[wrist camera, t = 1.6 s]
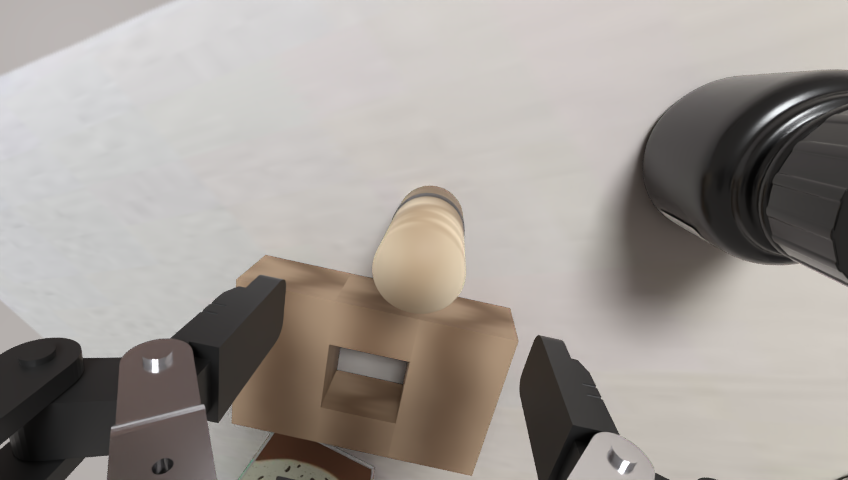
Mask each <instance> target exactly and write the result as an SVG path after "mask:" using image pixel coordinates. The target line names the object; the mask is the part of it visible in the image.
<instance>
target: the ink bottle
mask: <svg viewBox="0 0 848 480" xmlns="http://www.w3.org/2000/svg"><path fill="white" fill-rule="evenodd" d="M643 177H644V183H645V187H646V190H647V193H648V195H649V197H650V199H651V201H652V202H653V204H654V205H655V207H656V208H657V209H658V210H659V211H660V212H661V213H662V214H663V215H664V216H665V217H667V218H668V219H669V220H671V221H673V222H674V223H676V224H677V225H679V226H681V227H682V228H684V229H686V230H687V231H689V232H691V233H693V234H694V235H696V236H698V237H699V238H701V239H703V240H705V241H706V242H708V243H710V244H711V245H713V246H715V247H717V248H719V249H721V250H722V251H724V252H726V253H728V254H730V255H732V256H734V257H736V258H739V259H742V260H745V261H748V262H752V263H757V264H765V265H791V264H799V263H800V264H802V265H804V266H806V267H808V268H810V269H812V270H814V271H816V272H818V273H820V274H822V275H824V276H826V277H828V278H830V279H832V280H834V281H836V282H838V283H840V284H842V285H844V286H847V287H848V70H815V71H800V72H786V73H771V74H757V75H743V76H734V77H728V78H724V79H720V80H716V81H713V82H711V83H708V84H706V85H703V86H701V87H699V88H697V89H695V90H694V91H692V92H690V93H689V94H687V95H686V96H684V97H683V98H681V99H680V100H679V101H677V102H676V103H675V104H674V105H673V106H672V107H670V108H669V109H668V110H667V111H666V112H665V114H664V115H663V116H662V117H661V118H660V120H659V121H658V122H657V124H656V125H655V127H654V129H653V130H652V132H651V134H650V137H649V139H648V142H647V145H646V148H645V153H644V159H643Z"/></svg>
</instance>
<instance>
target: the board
mask: <svg viewBox="0 0 848 480" xmlns="http://www.w3.org/2000/svg"><path fill="white" fill-rule="evenodd" d="M259 275H266V276H270V277H275V278H279V279H284V280H285V281H286V295H285V307H284V318H283V326H282V330H281V333H280V335H279V338H278V340H277V341H276V343H275V344H274V346H273V347H272V348H271V350H270V351H269V353H268V354H267V355H266V357H265V358H264V360H263V361H262V362H261V364H260V365H259V367H258V368H257V369H256V371H255V372H254V374H253V375H252V376H251V378H250V379H249V381H248V382H247V383H246V385H245V386H244V388H243V389H242V390H241V392H240V393H239V395H238V396H237V397H236V399H235V400H234V402H233V403H232V424H237V425H242V426H246V427H251V428H255V429H260V430H264V431H269V432H274V433H278V434H283V435H287V436H292V437H296V438H301V439H306V440H310V441H315V442H319V443H324V444H328V445H333V446H338V447H342V448H347V449H351V450H356V451H360V452H365V453H370V454H374V455H379V456H383V457H388V458H393V459H397V460H402V461H406V462H411V463H415V464H420V465H425V466H429V467H434V468H438V469H443V470H447V471H452V472H457V473H461V474H466V475H470V476H472V474H473V471H474V468H475V465H476V462H477V460H478V457H479V454H480V451H481V448H482V445H483V442H484V439H485V436H486V433H487V431H488V428H489V425H490V422H491V419H492V416H493V413H494V410H495V407H496V405H497V402H498V399H499V396H500V393H501V390H502V387H503V384H504V381H505V379H506V376H507V373H508V370H509V367H510V364H511V361H512V358H513V355H514V352H515V350H516V347H517V344H518V337H517V333H516V329H515V326H514V322H513V318H512V314H511V310H510V308H506V307H502V306H497V305H492V304H488V303H483V302H479V301H474V300H470V299H465V298H460V297H457V298H456V299H455V300H454V301H453V302H452V303H451V304H450V305H448V306H447V307H445V308H443V309H441V310H439V311H436V312H432V313H426V314H415V313H409V312H406V311H403V310H400V309H398V308H396V307H394V306H393V305H391V304H390V303H389V302H388V301H387V300H385V299H384V297H383V296H382V295H381V294H380V292H379V291H378V289H377V287H376V285H375V282H374V279H373V278H369V277H364V276H359V275H355V274H350V273H346V272H341V271H336V270H332V269H327V268H323V267H318V266H313V265H309V264H304V263H300V262H295V261H291V260H286V259H281V258H277V257H272V256H268V255H265V256H264V257H263V258H261V259H260V260H259V261H258V262H257V263H256V264H254V265H253V266H252V267H251V268H250V269H248V270H247V271H246V272H245V273H244V274H242V275H241V276H240V277H239V278H238V279H236V287H238V286H240V287H245V288H246V287H247V286H248V285H249V284H250V283H251V282H252V281H253V280H254V279H255V278H257V277H258V276H259ZM340 347H343V348H348V349H352V350H357V351H361V352H366V353H371V354H375V355H380V356H384V357H389V358H394V359H398V360H403V361H407V362H408V364H407V368H406V373H405V377H404V381H403V384H399V383H394V382H390V381H385V380H380V379H376V378H371V377H367V376H362V375H357V374H353V373H348V372H344V371H339V370H337V365H338V358H339V351H340Z"/></svg>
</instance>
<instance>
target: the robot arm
mask: <svg viewBox="0 0 848 480" xmlns="http://www.w3.org/2000/svg"><path fill="white" fill-rule="evenodd" d="M285 295H286V281H285V280H284V279H279V278H275V277H270V276H266V275H259V276H258V277H257V278H255V279H254V280H253V281H252V282H251V283H250V284H249V285H248V286H247V287H246V288H245V287H240V286H238V287H236V288H233V289H231V290H228V291H226V292H224V293H222V294H221V295H220V296H219V297H217V298H216V299H215V300H214V301H213V302H212V304H209V305H208V306H207V307H206V308H205V309H204V310H203V312H200V313H199V314H198V315H197V316H196V317H194V318H193V319H192V320H191V321H190V322H189V323H187V324H186V325H185V326H184V327H183V328H182V329H181V330H179V331H178V332H177V333H176V334H175V335H174V336H172V337H171V338H170V339H169V338H168V339H156V340H151V341H147V342H144V343H142V344H139V345H137V346H135V347H133V348H132V349H130V350H129V351H128V352H126V353H125V354H124V355H123V357H121V358H83V357H82V350H81V346H80V345H79V343H77V342H76V341H73V340H71V339H66V338H45V339H39V340H35V341H30V342H26V343H24V344H21V345H18V346H15V347H13V348H11V349H9V350H7V351H6V352H4V353H2V354H0V445H1V444H2V443H3V442H4V441H6V440H7V439H8V438H9V439H10V442H8V443H7V444H6V445H5V446H4V447H3V448H1V449H0V480H65V479H66V478H67V477H68V476H69V475H70V473H71V472H72V471H73V470H74V469H75V468H76V467H77V466H78V465H79V464H80V463H81V462H82V461H83V459H84V458H85V457H96V456H107V455H109V458H108V471H107V480H217V477H216V471H215V465H214V458H213V452H212V446H211V440H210V434H209V428H208V422H207V421H211V422H216V423H219V421H220V420H221V419H222V417H223V416H224V414H225V413H226V411H227V410H228V409H229V407H230V406H231V404H232V403H233V402H234V400H235V399H236V397H237V396H238V395H239V393H240V392H241V390H242V389H243V388H244V386H245V385H246V383H247V382H248V381H249V379H250V378H251V376H252V375H253V374H254V372H255V371H256V369H257V368H258V367H259V365H260V364H261V362H262V361H263V360H264V358H265V357H266V355H267V354H268V353H269V351H270V350H271V348H272V347H273V346H274V344H275V343H276V341H277V340H278V338H279V335H280V333H281V330H282V326H283V318H284V307H285ZM520 397H521V402H522V407H523V411H524V416H525V420H526V425H527V429H528V434H529V439H530V443H531V448H532V452H533V457H534V462H535V466H536V471H537V475H538V480H669V479H667V478H665V477H663V476H661V475H659V474H657V473H655V471H654V467H653V465H652V463H651V461H650V460H649V458H648V457H647V456H646V455H645V453H644V452H643V451H642V450H641V449H640V448H639V447H637V446H636V445H635V444H634V443H632V442H631V441H629V440H627V439H626V438H624V437H622V436H620V435H619V433H618V431H617V429H616V427H615V424H614V422H613V420H612V418H611V416H610V414H609V412H608V410H607V408H606V406H605V404H604V402H603V400H602V399H601V396H600V393H599V391H598V389H597V388H596V385H595V383H594V381H593V379H592V377H591V375H590V373H589V372H588V371H587V370H586V369H585V367H584V366H583V365H582V364H581V363H580V362H579V361H578V360H575V359H571V357H570V355H569V353H568V350H567V348H566V346H565V344H564V342H563V341H562V340H559V339H554V338H549V337H545V336H540V335H538V336H537V337H536V338H535V340H534V342H533V345H532V347H531V350H530V353H529V356H528V358H527V361H526V364H525V367H524V369H523V372H522V375H521V379H520ZM277 480H295V479H290V478H286V477H281V476H278V477H277ZM698 480H716V479H712V478H700V479H698ZM842 480H848V477H847V478H844V479H842Z"/></svg>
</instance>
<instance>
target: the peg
mask: <svg viewBox="0 0 848 480" xmlns="http://www.w3.org/2000/svg"><path fill="white" fill-rule="evenodd" d="M372 274H373V279H374V282H375V285H376V287H377V289H378V291H379V292H380V294H381V295H382V296H383V297H384V299H385V300H387V301H388V302H389V303H390V304H391V305H393V306H394V307H396V308H398V309H400V310H403V311H406V312H409V313H415V314H426V313H432V312H436V311H439V310H441V309H443V308H445V307H447V306H448V305H450V304H451V303H452V302H453V301H454V300H455V299H456V298H457V297H458V295H459V294H460V292H461V290H462V289H463V286H464V283H465V278H466V265H465V247H464V221H463V213H462V209H461V206H460V204H459V202H458V200H457V199H456V198H455V197H454V196H453V194H451V193H450V192H449V191H447V190H445V189H443V188H440V187H437V186H423V187H420V188H417V189H415V190H413V191H411V192H410V193H409V194H408V195H407V196H406V197H405V198H404V199H403V201H402V203H401V205H400V206H399V207H398V209H397V211H396V212H395V214H394V217H393V219H392V222H391V224H390V226H389V228H388V230H387V232H386V234H385V236H384V238H383V240H382V242H381V244H380V246H379V248H378V250H377V252H376V254H375V256H374V260H373V265H372Z"/></svg>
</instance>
